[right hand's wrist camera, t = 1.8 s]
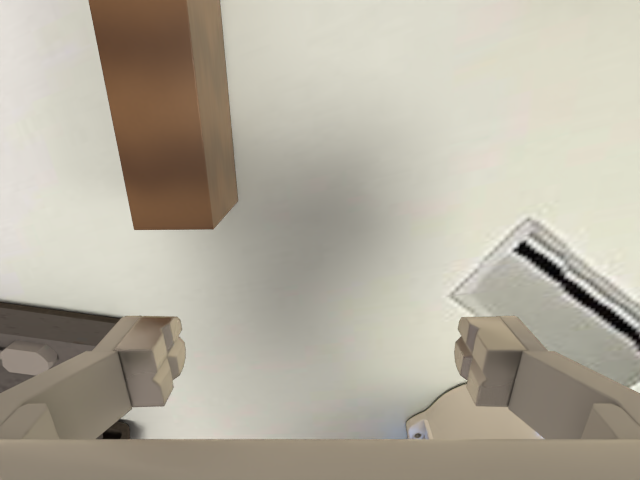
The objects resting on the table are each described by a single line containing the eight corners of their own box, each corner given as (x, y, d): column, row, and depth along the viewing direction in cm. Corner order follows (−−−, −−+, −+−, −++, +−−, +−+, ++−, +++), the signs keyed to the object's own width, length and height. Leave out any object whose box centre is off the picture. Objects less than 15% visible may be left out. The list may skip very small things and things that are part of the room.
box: (238, 201, 37) (213, 229, 29) (176, 201, 37) (133, 230, 29) (209, -120, 28) (161, -216, 20) (128, -119, 28) (45, -214, 20)
